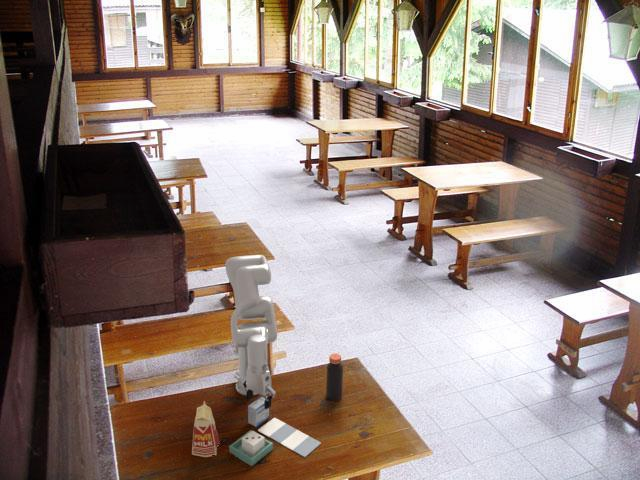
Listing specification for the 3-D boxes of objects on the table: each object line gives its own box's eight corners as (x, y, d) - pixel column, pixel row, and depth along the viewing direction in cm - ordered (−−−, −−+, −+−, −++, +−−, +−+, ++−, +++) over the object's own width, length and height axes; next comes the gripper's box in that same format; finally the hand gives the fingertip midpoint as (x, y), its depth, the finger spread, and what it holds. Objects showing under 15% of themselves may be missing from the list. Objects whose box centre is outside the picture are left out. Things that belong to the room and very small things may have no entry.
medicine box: (256, 427, 254) (255, 409, 251) (248, 423, 257) (247, 405, 253) (269, 417, 260) (269, 400, 257) (261, 413, 262) (261, 395, 259)
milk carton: (196, 440, 246) (193, 397, 239) (220, 441, 246) (218, 398, 238) (191, 457, 238) (188, 413, 230) (215, 458, 238) (213, 414, 230)
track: (257, 430, 252) (257, 430, 252) (274, 418, 260) (274, 417, 259) (304, 457, 239) (304, 456, 239) (321, 443, 246) (321, 442, 246)
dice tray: (229, 452, 241) (229, 446, 239) (250, 436, 249) (250, 430, 248) (251, 466, 234) (251, 459, 233) (272, 449, 243) (272, 443, 241)
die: (242, 451, 240) (241, 438, 238) (253, 443, 245) (252, 430, 242) (253, 458, 237) (253, 445, 235) (264, 449, 241) (264, 437, 239)
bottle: (324, 399, 271) (325, 359, 264) (328, 390, 278) (329, 351, 270) (340, 402, 270) (341, 362, 262) (343, 392, 276) (344, 353, 268)
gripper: (281, 369, 246) (281, 406, 252) (248, 354, 256) (249, 391, 262) (267, 377, 240) (268, 415, 246) (235, 362, 250) (236, 399, 256)
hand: (258, 403), depth 254 cm, fingers open, 9 cm apart
